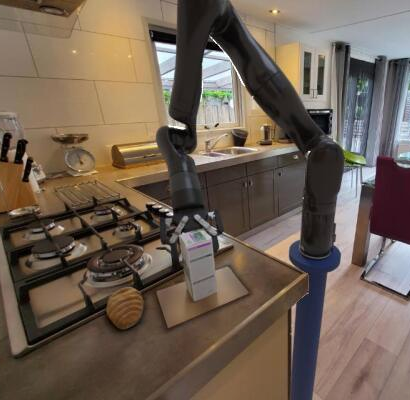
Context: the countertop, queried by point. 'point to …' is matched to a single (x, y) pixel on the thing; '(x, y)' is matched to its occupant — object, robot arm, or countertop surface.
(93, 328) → the countertop surface
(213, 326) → the countertop surface
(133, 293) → the pastry
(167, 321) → the flat rectangular metal plate
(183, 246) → the syrup box
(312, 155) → the robot arm
